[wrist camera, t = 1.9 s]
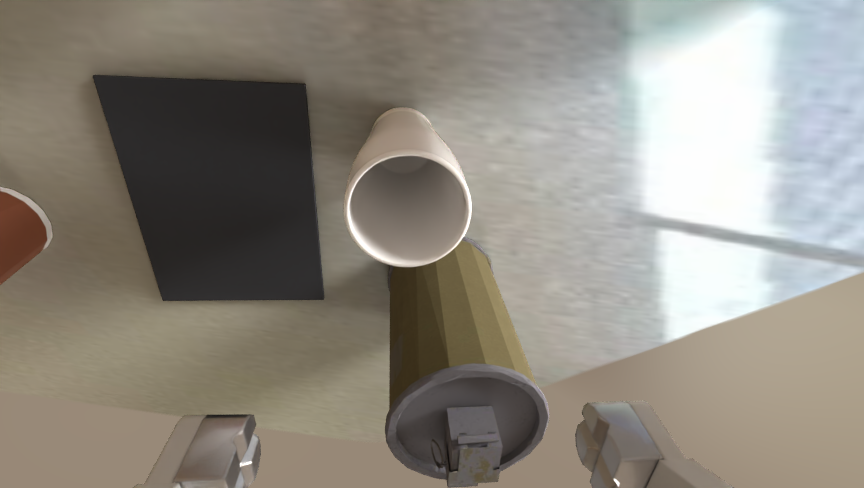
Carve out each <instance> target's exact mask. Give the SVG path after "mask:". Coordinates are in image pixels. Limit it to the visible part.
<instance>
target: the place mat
mask: <svg viewBox="0 0 864 488" xmlns="http://www.w3.org/2000/svg"><path fill="white" fill-rule="evenodd" d="M93 79H94V82H95V85H96V88H97V91H98V95H99V98H100V101H101V104H102V107H103V111H104V114H105V117H106V120H107V123H108V127H109V130H110V133H111V136H112V139H113V143H114V146H115V149H116V152H117V155H118V159H119V162H120V165H121V168H122V171H123V175H124V178H125V181H126V184H127V187H128V191H129V194H130V197H131V200H132V203H133V207H134V210H135V213H136V216H137V219H138V223H139V226H140V229H141V232H142V235H143V239H144V242H145V245H146V248H147V251H148V255H149V258H150V261H151V264H152V267H153V271H154V274H155V277H156V280H157V283H158V287H159V290H160V293H161V296H162V299H163V301H199V300H324V289H323V278H322V267H321V255H320V244H319V232H318V221H317V209H316V198H315V186H314V175H313V164H312V152H311V141H310V129H309V118H308V106H307V95H306V84H298V83H274V82H250V81H227V80H203V79H179V78H155V77H132V76H108V75H93Z"/></svg>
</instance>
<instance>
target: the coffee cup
mask: <svg viewBox="0 0 864 488" xmlns="http://www.w3.org/2000/svg"><path fill="white" fill-rule="evenodd" d="M52 237H53V235H52V225H51V223H50V221H49V219H48V218H47V216H46V214H45V212H44V211H43V210H42V209H41V208H40V207H39V206H38V205H37V204H35V203H34V202H33V201H32V200H31V199H30V198H28V197H26V196H24V195H22V194H20V193H18V192H16V191H14V190H12V189H8V188H3V187H0V285H1V284H2V283H3V282H4V281H6V280H7V279H8V278H9V277H11V276H12V275H13V274H14V273H15V272H17V271H18V270H19V269H20V268H22V267H23V266H24V265H25V264H26V263H28V262H29V261H30V260H31V259H33V258H34V257H35V256H36V255H37V254H39V253H40V252H41V251H42V250H44V249H45V248H47V247H48V245H49V243H50V241H51V239H52Z"/></svg>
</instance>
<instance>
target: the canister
mask: <svg viewBox="0 0 864 488" xmlns="http://www.w3.org/2000/svg"><path fill="white" fill-rule="evenodd" d="M388 288H389V291H390V410H389V412H388V414H387V417H386V425H385V434H386V442H387V444H388V446H389V448H390V450H391V452H392V453H393V455H394V456H395V457H396V458H397V459H398V460H399V461H400V462H401V463H402V464H404V465H405V466H406V467H407V468H409V469H411V470H414V471H416V472H418V473H421V474H423V475H427V476H430V477H433V478H438V479H446V480H447V486H448V488H451V487H468V486H477V485H478V483H487V482H498V479H499V473H500V471H503V470H504V469H506V468H508V467H510V466H512V465H513V464H515V463H517V462H519V461H521V460H523V459H524V458H525V457H526V456H527V455H529V454H530V453H531V452H532V450H533V449H534V448H535V447H536V446H537V445H538V444H539V442H540V441H541V440H542V439H543V436H544V433H545V431H546V428H547V426H548V423H549V409H548V403H547V401H546V399H545V397H544V394H543V392H542V391H541V390H540V389H539V388H538V386H537V385H536V382H535V380H534V377H533V375H532V372H531V370H530V367H529V365H528V362H527V360H526V357H525V354H524V352H523V349H522V347H521V344H520V342H519V339H518V337H517V334H516V332H515V329H514V327H513V324H512V322H511V319H510V317H509V314H508V311H507V309H506V306H505V304H504V301H503V299H502V296H501V294H500V291H499V289H498V286H497V284H496V281H495V279H494V276H493V269H492V264H491V261H490V259H489V257H488V255H487V254H486V253H485V251H484V250H483V249H482V248H481V246H480V245H478V244H477V243H475V242H474V241H472V240H471V239H468V238H466V237H463V238H462V240H461V241H460V242H459V244H458V245H457V246H456V247H455V248H454V249H453V250H452V251H451V252H450V253H448V254H447V255H445V256H444V257H442V258H441V259H439V260H437V261H435V262H432V263H429V264H426V265H422V266H417V267H398V266H392V265H391V266H390V270H389V274H388Z"/></svg>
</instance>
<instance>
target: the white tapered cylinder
mask: <svg viewBox="0 0 864 488" xmlns="http://www.w3.org/2000/svg"><path fill="white" fill-rule="evenodd" d="M343 209H344V219H345V223H346V226H347V229H348V231H349V233H350V235H351V237H352V239H353V240H354V242H355V243H356V244H357V245H358V246H359V247H360V248H361V249H362V250H363V251H364V252H365V253H366V254H368V255H369V256H370V257H372V258H374V259H376V260H378V261H380V262H382V263H385V264H388V265H392V266H398V267H417V266H422V265H426V264H429V263H432V262H435V261H437V260H439V259H441V258H442V257H444V256H445V255H447V254H448V253H450V252H451V251H452V250H453V249H454V248H455V247H456V246H457V245H458V244H459V242H460V241H461V240H462V238H463V237H464V235H465V233H466V231H467V229H468V226H469V223H470V219H471V212H472V203H471V196H470V192H469V189H468V186H467V182H466V179H465V176H464V174H463V171H462V169H461V167H460V165H459V163H458V161H457V159H456V157H455V156H454V154H453V152H452V151H451V150H450V148H449V147H448V146H447V144H446V143H445V142H444V141H443V140H442V138H441V137H440V136H439V135H438V134H437V132H436V131H435V130H434V128H433V126H432V124H431V123H430V121H429V120H428V119H427V118H426V117H425V116H424V115H423V114H422V113H420V112H419V111H417V110H414V109H411V108H406V107H398V108H393V109H391V110H388V111H386V112H385V113H383V114H382V115H381V116H380V117H379V118H378V119H377V120H376V122H375V123H374V125H373V127H372V130H371V133H370V135H369V136H368V138H367V140H366V141H365V143H364V144H363V146H362V148H361V149H360V151H359V152H358V154H357V156H356V158H355V160H354V162H353V165H352V167H351V170H350V173H349V177H348V181H347V185H346V191H345V198H344V208H343Z"/></svg>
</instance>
